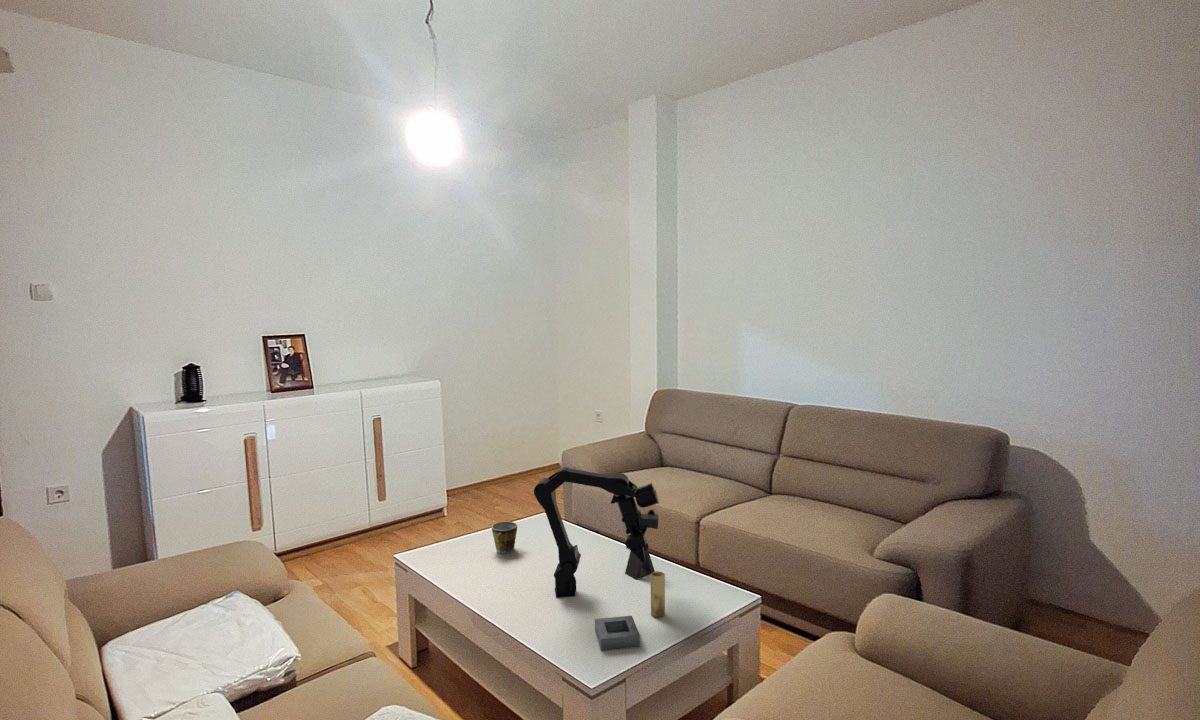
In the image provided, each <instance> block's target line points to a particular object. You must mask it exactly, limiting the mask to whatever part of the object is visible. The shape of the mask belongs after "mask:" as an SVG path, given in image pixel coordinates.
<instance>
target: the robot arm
mask: <svg viewBox="0 0 1200 720" xmlns="http://www.w3.org/2000/svg"><path fill="white" fill-rule="evenodd" d="M564 483H572V484H576V485H582V486H588V487H593V488H594V487H595V488H600V489H602V490H604V491H606V492H608V493H610V494H613V495H612V497H611V499H610V505H613V504H617V507H618V510H619V513H620V515H621V522H622V523H623V524H624V528H625V534H626V537H625V541H624V546H625V547H626V549H628V550H629V551H632V552H633V553H634V554H635V555H636V556H637V557H638V558H639V559H640V560H641V562H645V555H644V551H646V543H647V540H646V536H645V535H646V532H647V529H648V528H649V529H653V530H657V529H659V515H658V513H656V512H655V510H654V509H648V512H647V513H642V512H641V510H640V509H638V507H640V508H642V509H644V508H645V509H646V508H648V507H651V506H655V505H658V504H660V500H659V496H658V494H657V490H656V489H655V487H654V485H653V483H648V484H645V485H642V486H639V487H638V485H637V484H635V483H633V482H632V481H630V479H629V477H628V476H627V475H626V474H625V473H624V472H623V473H622V472H620V473H618V472H613V473H612V472H610V473H597V472H592V471H591V472H590V471H586V470H579V469H575V468H574V469H573V468H569V467H566V466H565V467H562V468H561V469H559V470H558V471H556V472H555V473H553V474H551V475H550V476H549V477H543V478H541V479H540V480H539V481H538V482H537V484H536V485H535V486H534V489H533V493H534V494H533V495H534V497H535V498H536V500H537V502H538V504H539V505H540V506H541V507H542V509H544V511H545V516H546V519H547V520H548V524H549V526H550V529H551V532H552V536H553V538H554V540H555V544H556V546H557V548H558V552H557V553H558V563H557V566H556V568H555V571H554V574H553V577H554V594H555V598H567V597H568V598H569V597H575V596H577V595H576V593H577V579H576V577H575V573H577V570H578V567H579V564H580V562H581V557H582V555H581V553H580V551H579V549H578V547H579V546H578V544H575V545H573V544H572V543H571V542H570V539H569V536H568V534H567V533H568V532H567V531H566V527H565V524H564V522H563V519H562V516H561V513H560V510H559V508H558V504H557V494H556V490H557V489H558V488H560V487H561V486H562V485H563V484H564Z"/></svg>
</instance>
